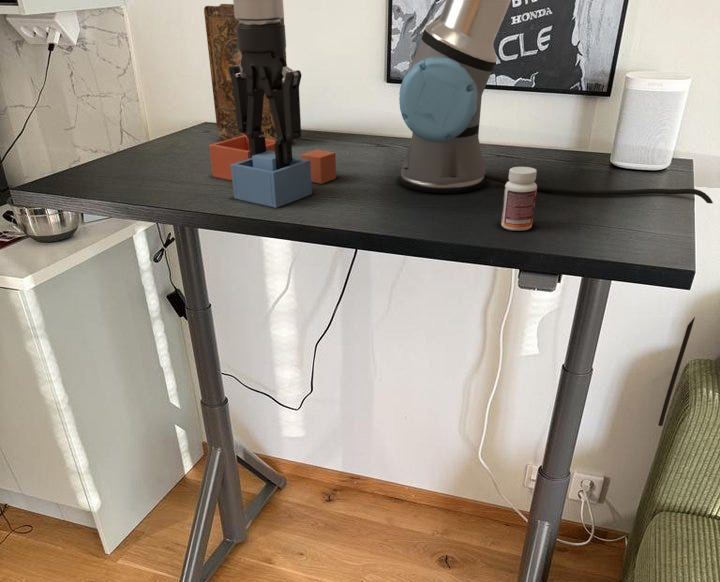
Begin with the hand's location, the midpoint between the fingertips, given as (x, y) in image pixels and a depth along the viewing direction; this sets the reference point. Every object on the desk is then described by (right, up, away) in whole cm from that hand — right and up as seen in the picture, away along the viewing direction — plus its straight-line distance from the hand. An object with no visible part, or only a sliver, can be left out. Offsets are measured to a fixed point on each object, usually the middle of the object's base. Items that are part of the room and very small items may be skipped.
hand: (272, 180), depth 125 cm
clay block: (+7, +4, +10) cm, 13 cm away
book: (-8, +23, +34) cm, 42 cm away
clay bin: (-6, +6, +13) cm, 16 cm away
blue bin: (0, -2, +2) cm, 3 cm away
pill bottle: (+39, -12, -12) cm, 43 cm away
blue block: (0, 0, 0) cm, 0 cm away
